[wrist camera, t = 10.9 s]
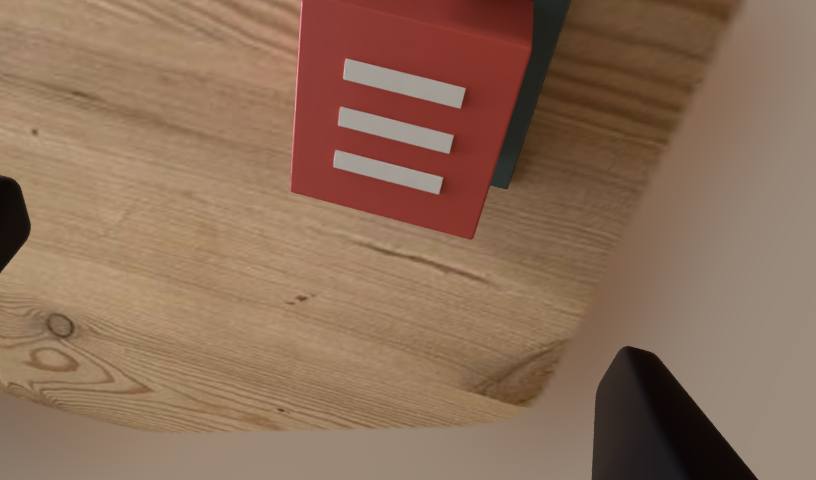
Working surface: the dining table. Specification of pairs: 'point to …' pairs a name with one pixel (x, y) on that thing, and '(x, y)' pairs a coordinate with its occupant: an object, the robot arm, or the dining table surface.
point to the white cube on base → (530, 83)
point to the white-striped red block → (407, 104)
